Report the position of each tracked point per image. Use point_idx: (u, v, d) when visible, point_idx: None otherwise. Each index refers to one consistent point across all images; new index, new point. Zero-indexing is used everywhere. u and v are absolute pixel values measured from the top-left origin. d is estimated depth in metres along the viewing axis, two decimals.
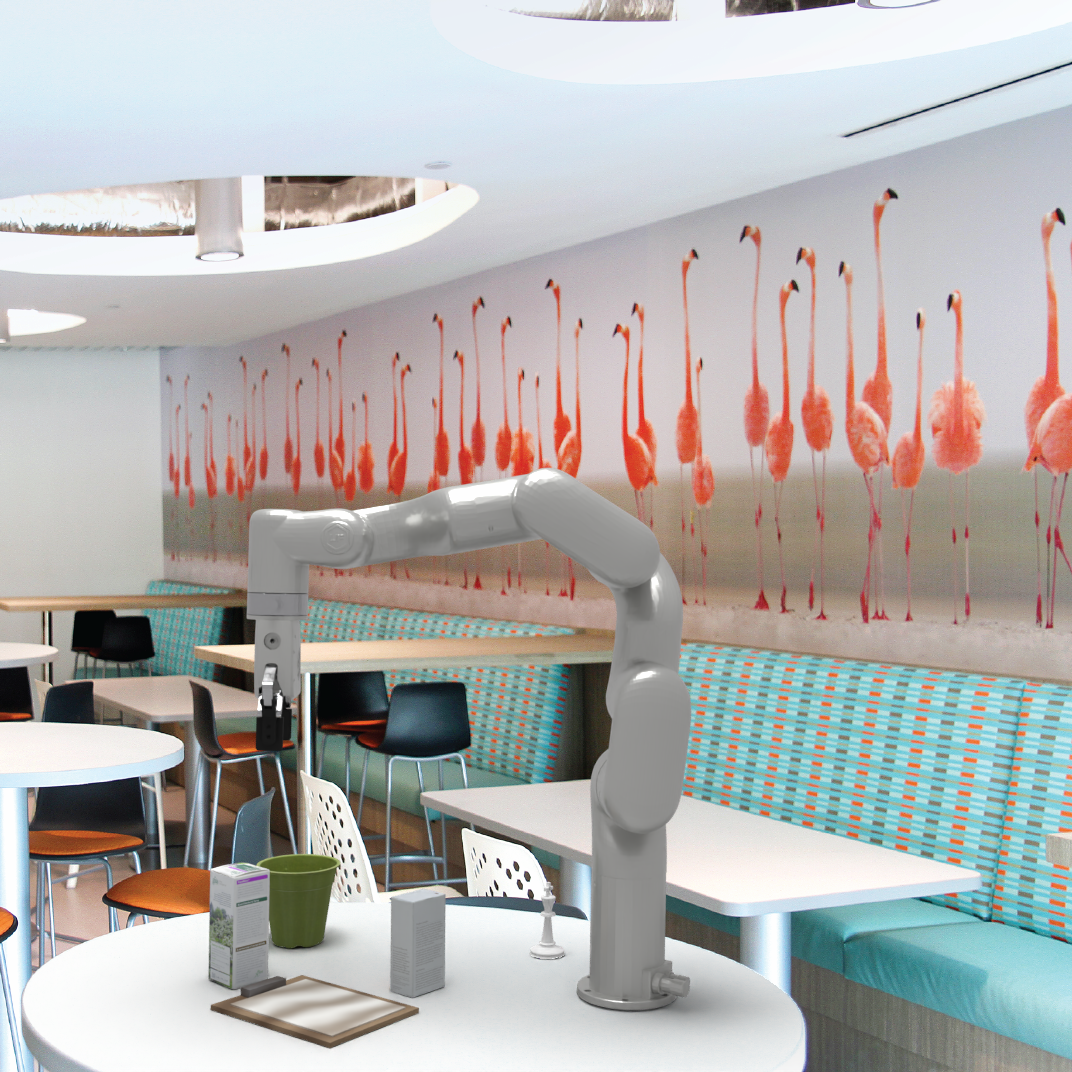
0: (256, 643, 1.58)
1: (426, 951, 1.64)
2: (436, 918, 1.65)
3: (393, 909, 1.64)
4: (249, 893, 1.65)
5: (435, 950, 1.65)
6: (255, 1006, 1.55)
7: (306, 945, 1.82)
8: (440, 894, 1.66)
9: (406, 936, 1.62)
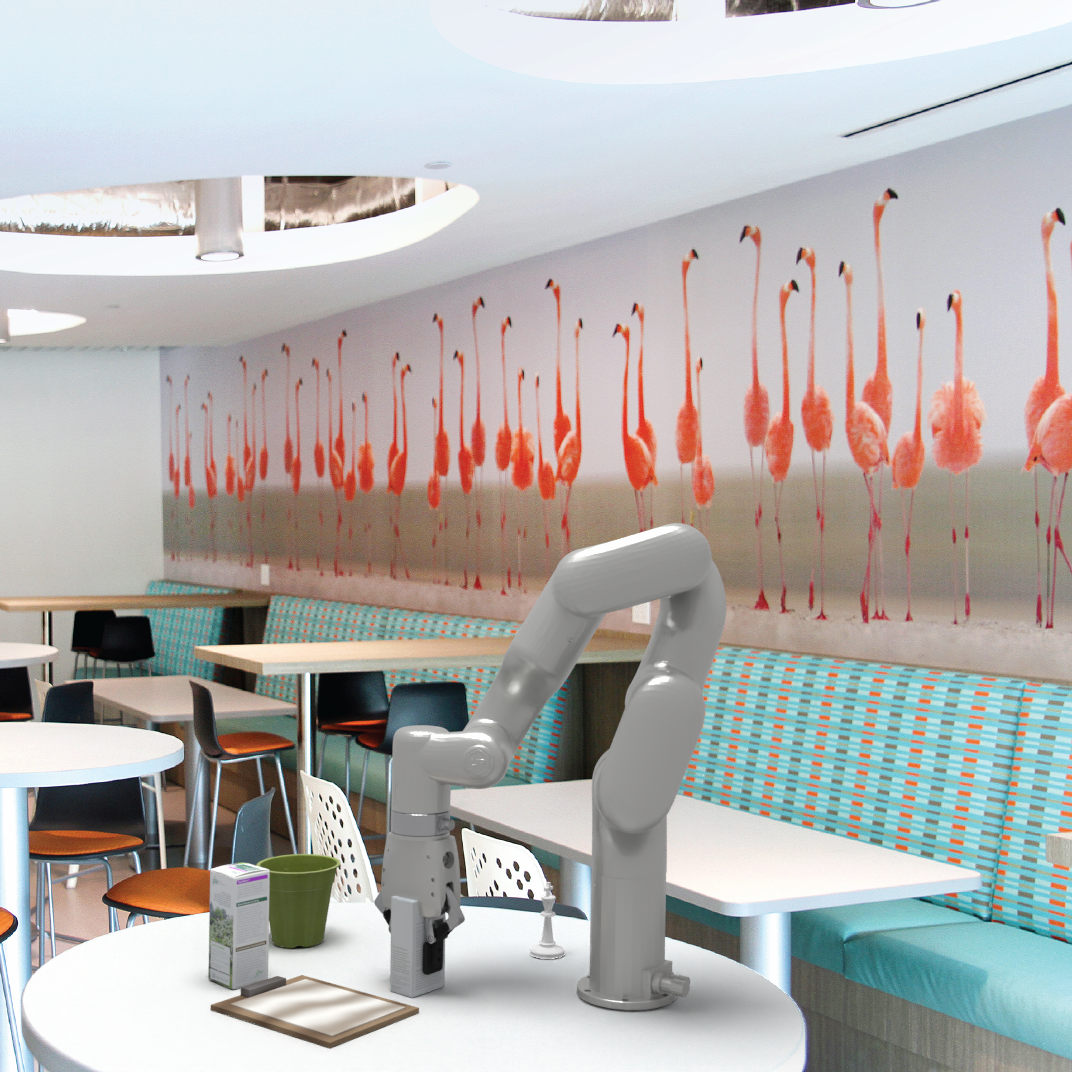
0: (435, 864, 1.61)
1: None
2: None
3: (393, 909, 1.64)
4: (249, 893, 1.65)
5: None
6: (255, 1006, 1.55)
7: (306, 945, 1.82)
8: None
9: (406, 936, 1.62)
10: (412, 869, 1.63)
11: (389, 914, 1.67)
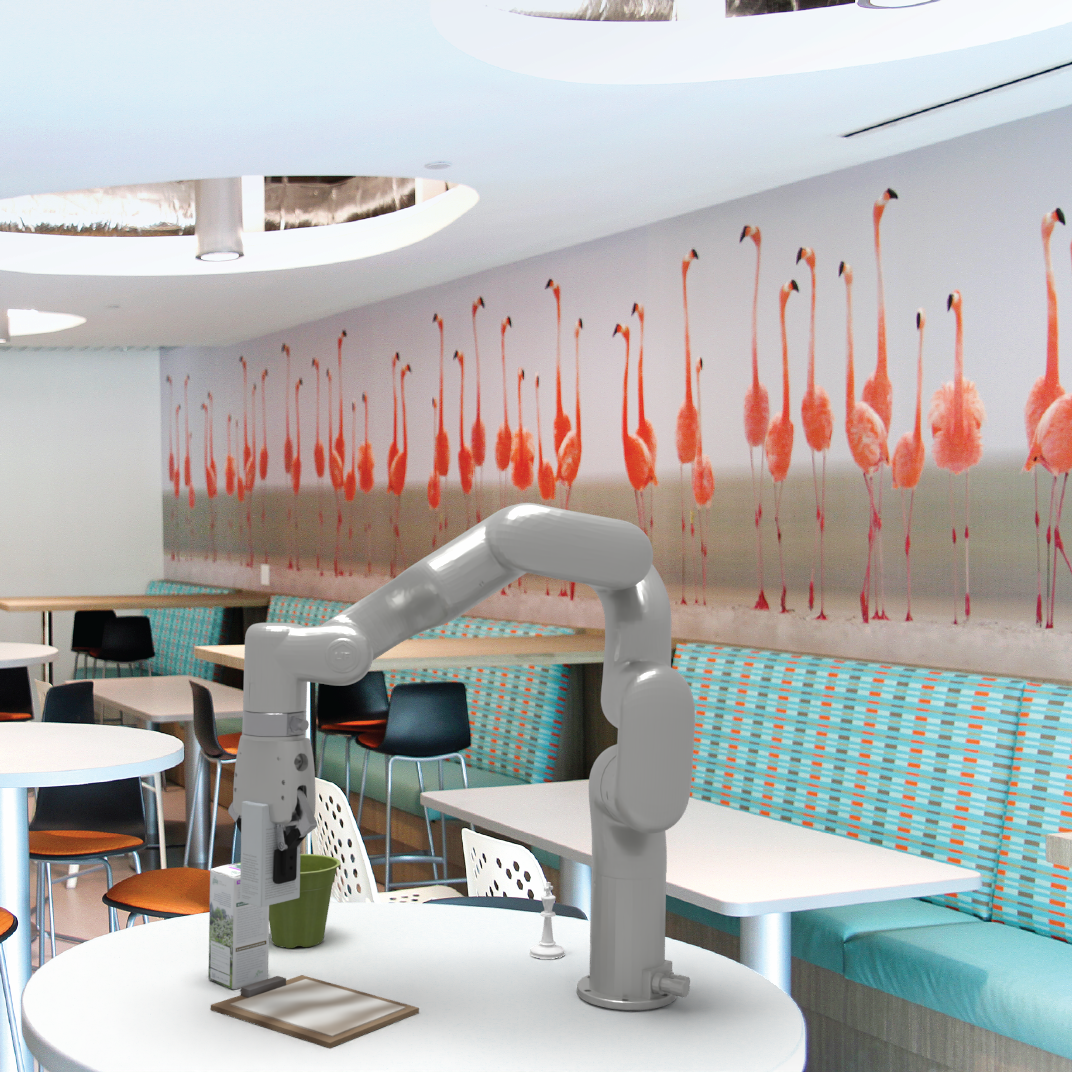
0: (286, 766, 1.52)
1: None
2: None
3: (243, 814, 1.55)
4: None
5: None
6: (255, 1006, 1.55)
7: (306, 945, 1.82)
8: None
9: (256, 842, 1.53)
10: (263, 772, 1.54)
11: None
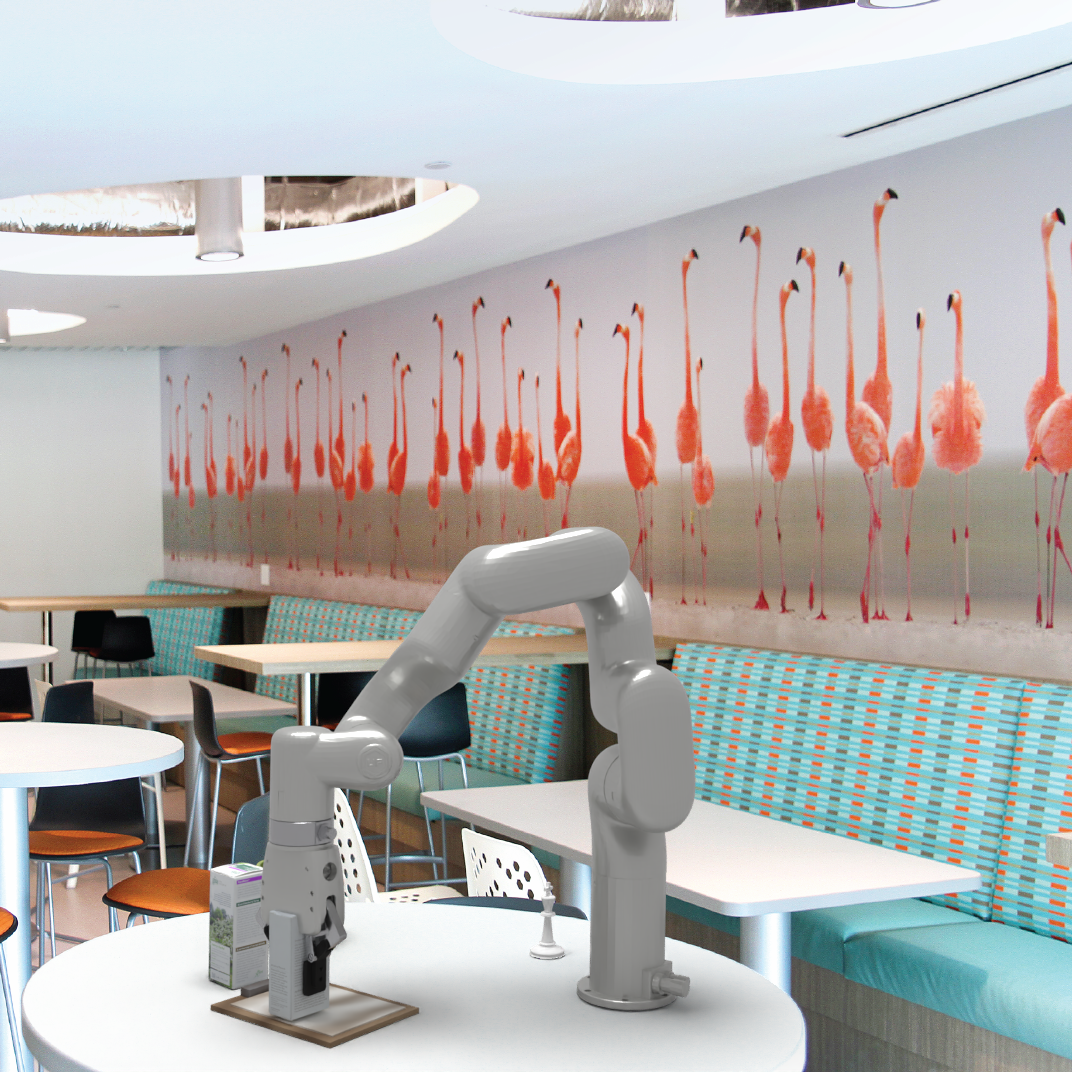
0: (314, 877, 1.49)
1: None
2: None
3: (271, 924, 1.51)
4: (249, 893, 1.65)
5: None
6: (255, 1006, 1.55)
7: None
8: None
9: (284, 954, 1.50)
10: (291, 882, 1.50)
11: None
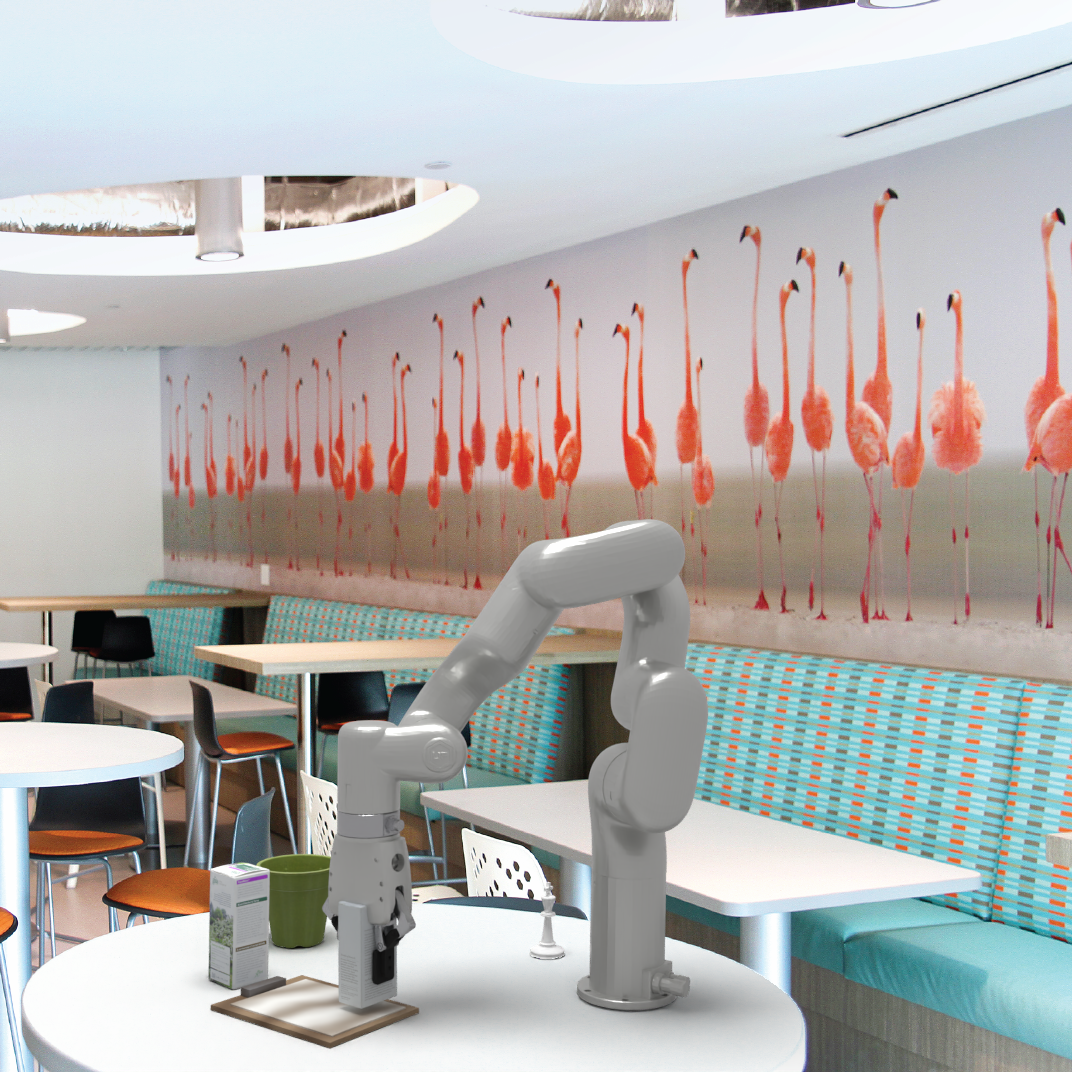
0: (383, 868, 1.52)
1: None
2: None
3: (340, 915, 1.55)
4: (249, 893, 1.65)
5: None
6: (255, 1006, 1.55)
7: (306, 945, 1.82)
8: None
9: (354, 943, 1.53)
10: (359, 873, 1.54)
11: (337, 921, 1.58)
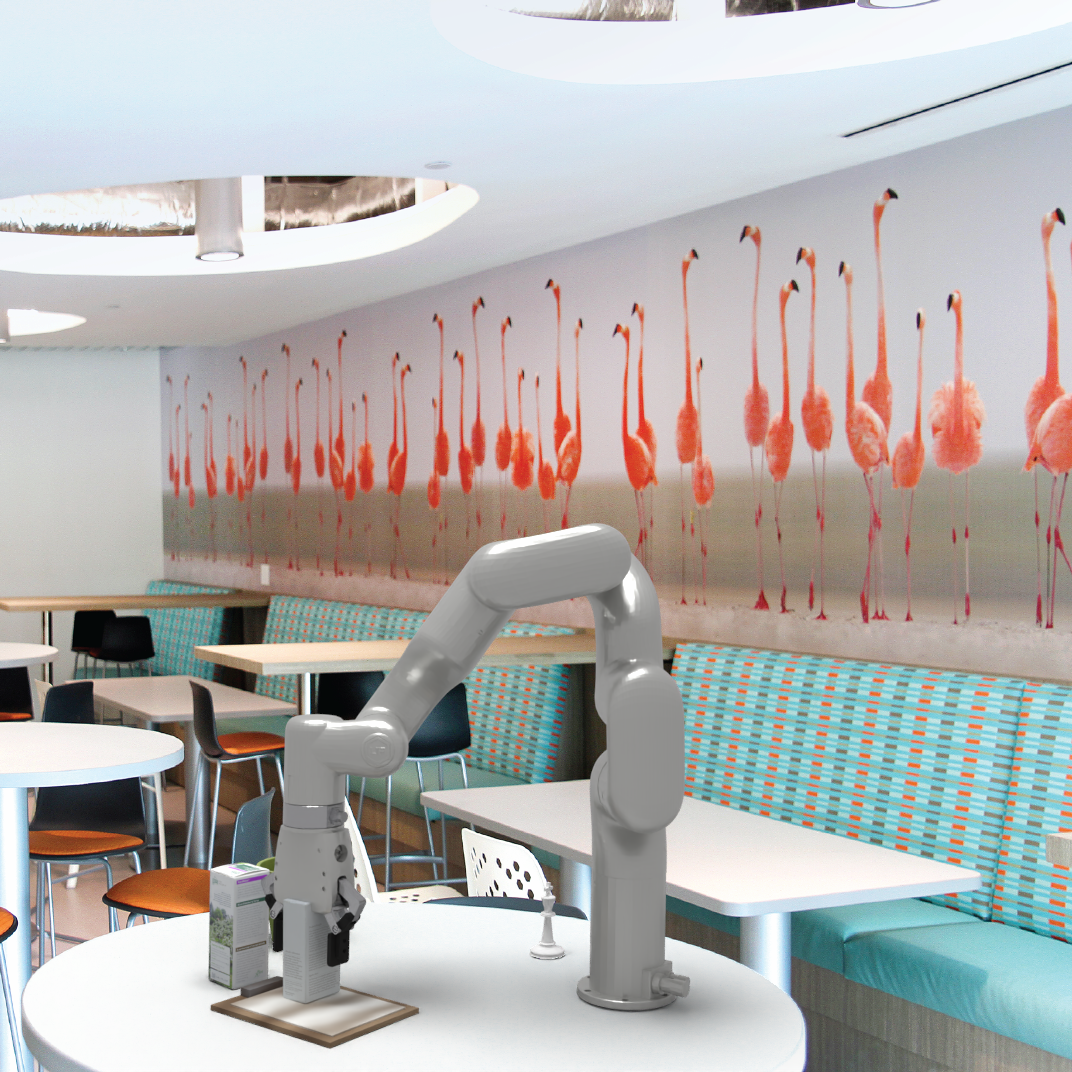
0: (326, 858, 1.56)
1: (320, 955, 1.58)
2: None
3: (285, 912, 1.58)
4: (249, 893, 1.65)
5: None
6: (255, 1006, 1.55)
7: None
8: None
9: (299, 940, 1.57)
10: (303, 863, 1.57)
11: (271, 898, 1.63)
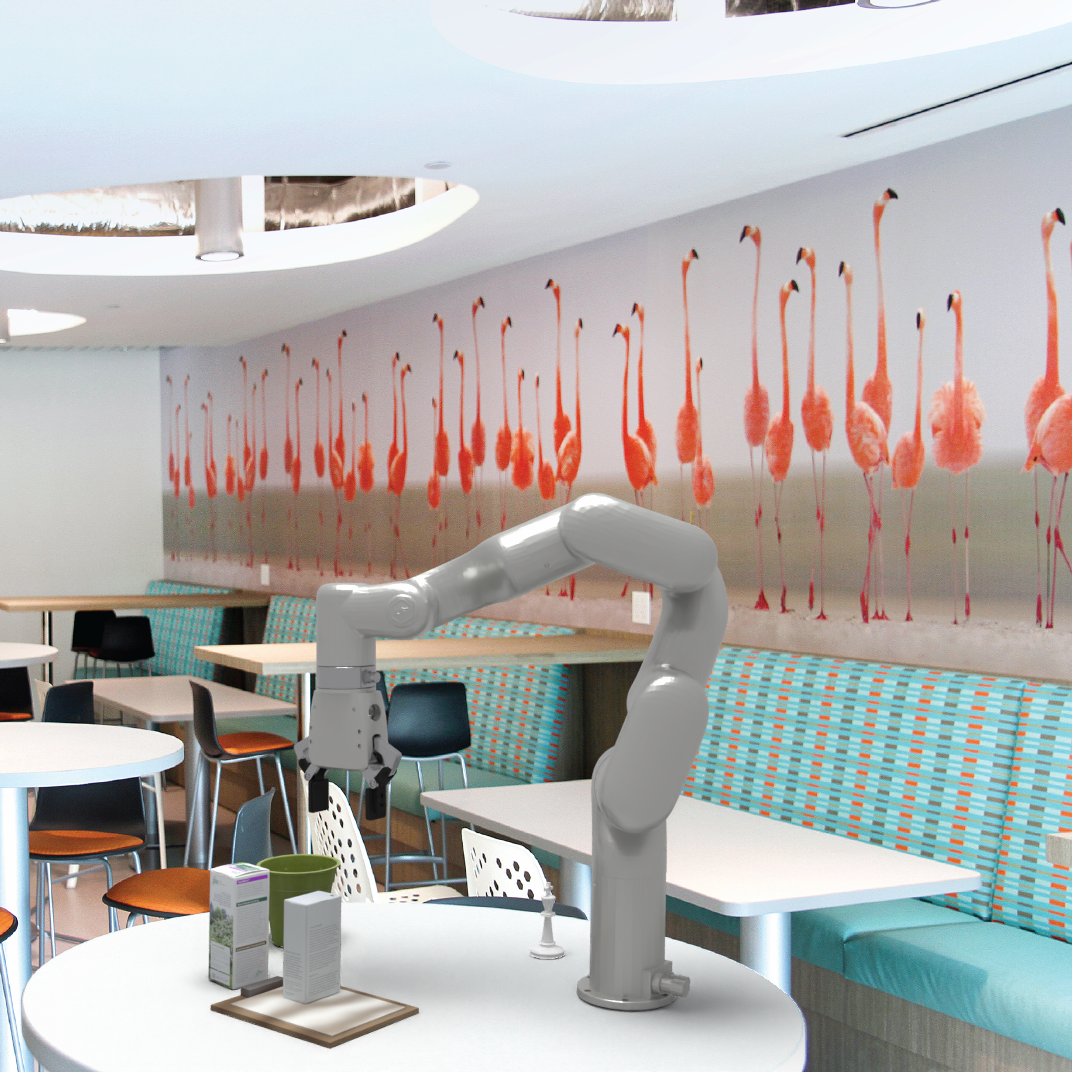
0: (361, 716, 1.61)
1: (320, 955, 1.58)
2: (331, 921, 1.60)
3: (286, 912, 1.58)
4: (249, 893, 1.65)
5: (330, 954, 1.59)
6: (255, 1006, 1.55)
7: None
8: (335, 896, 1.61)
9: (299, 940, 1.57)
10: (338, 723, 1.62)
11: (304, 762, 1.68)
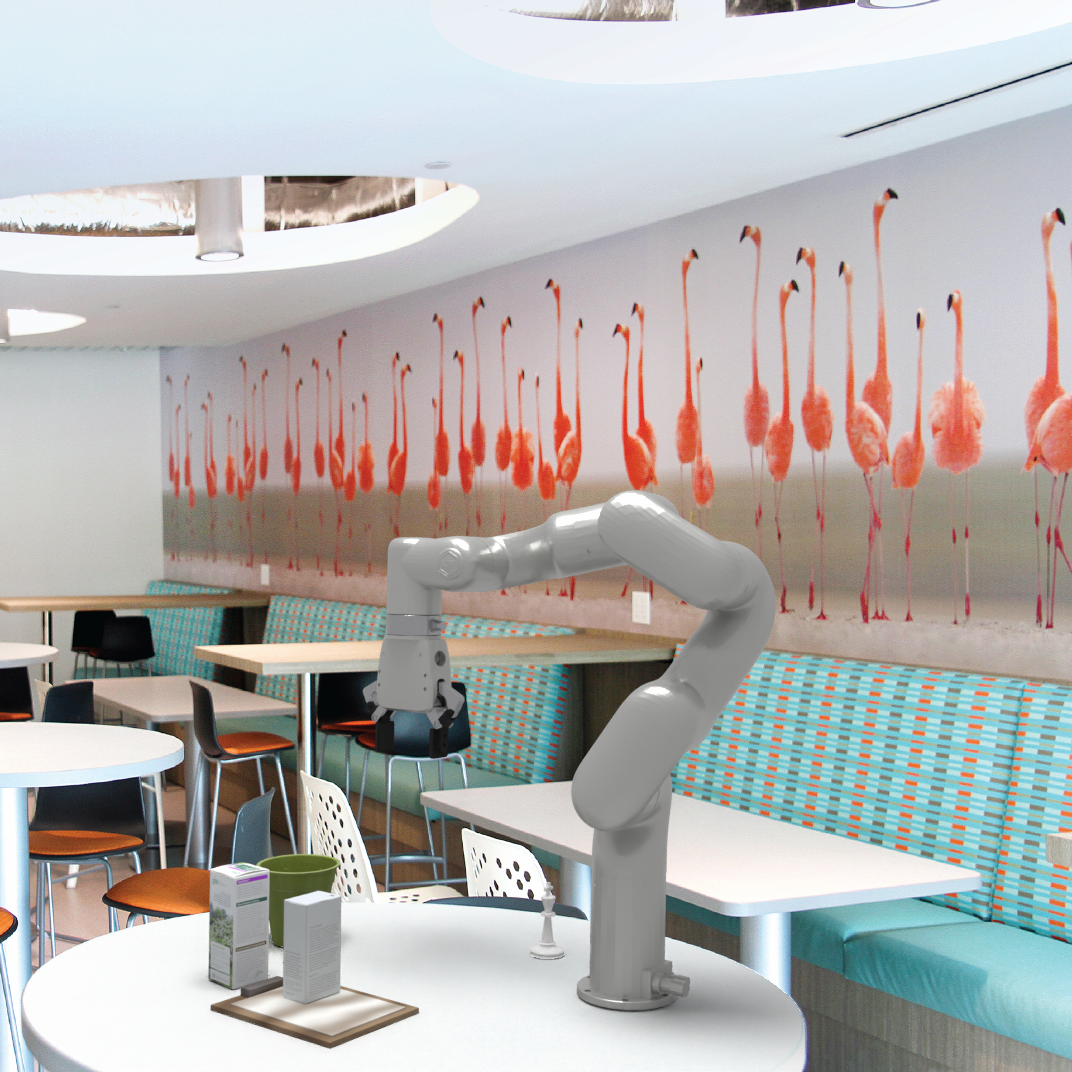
0: (427, 661, 1.73)
1: (320, 955, 1.58)
2: (331, 921, 1.60)
3: (286, 912, 1.58)
4: (249, 893, 1.65)
5: (330, 954, 1.59)
6: (255, 1006, 1.55)
7: None
8: (335, 896, 1.61)
9: (299, 940, 1.57)
10: (406, 667, 1.74)
11: (372, 704, 1.80)
